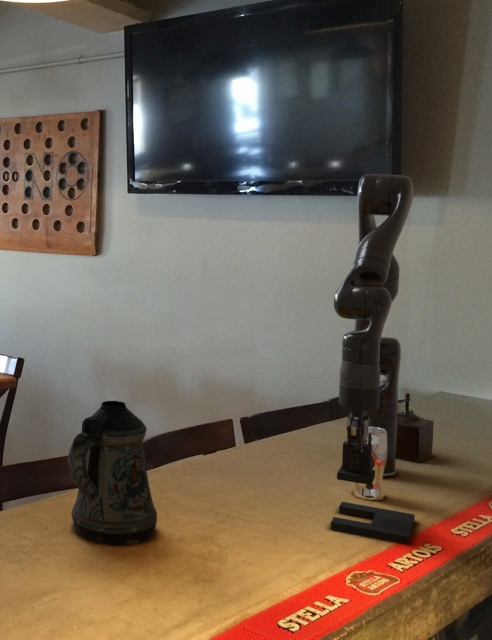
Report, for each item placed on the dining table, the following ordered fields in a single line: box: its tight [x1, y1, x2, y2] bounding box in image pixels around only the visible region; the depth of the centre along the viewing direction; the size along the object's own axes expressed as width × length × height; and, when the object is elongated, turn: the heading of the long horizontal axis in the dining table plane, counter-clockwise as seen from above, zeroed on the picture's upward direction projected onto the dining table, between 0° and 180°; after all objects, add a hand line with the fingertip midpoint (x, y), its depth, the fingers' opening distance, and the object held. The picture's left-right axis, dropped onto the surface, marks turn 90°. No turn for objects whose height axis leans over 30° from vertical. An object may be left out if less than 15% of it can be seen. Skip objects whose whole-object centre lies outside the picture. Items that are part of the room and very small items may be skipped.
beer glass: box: [353, 426, 388, 501], centre depth 180 cm, size 7×7×15 cm
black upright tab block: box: [336, 440, 375, 485], centre depth 164 cm, size 6×6×7 cm
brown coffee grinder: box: [396, 392, 435, 463], centre depth 215 cm, size 16×11×18 cm
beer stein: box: [67, 400, 158, 546], centre depth 156 cm, size 16×19×25 cm
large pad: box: [330, 501, 416, 545], centre depth 162 cm, size 14×14×2 cm
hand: (356, 468), depth 164 cm, fingers closed on black upright tab block, 2 cm apart
